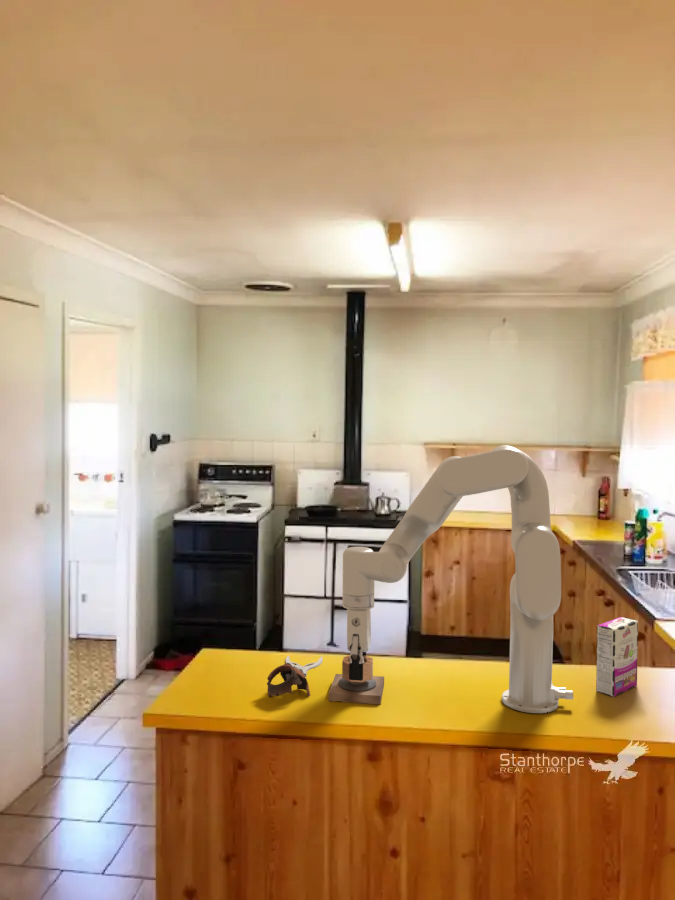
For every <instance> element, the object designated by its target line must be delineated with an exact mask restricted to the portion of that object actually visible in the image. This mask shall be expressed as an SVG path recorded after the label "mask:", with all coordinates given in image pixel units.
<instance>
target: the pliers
mask: <svg viewBox="0 0 675 900" xmlns="http://www.w3.org/2000/svg"><path fill="white" fill-rule="evenodd" d="M286 663H290V664H291V665H292V666H293V667H294V668H296V669H298V670H300V671H301V672H302V673H303V674H304V676H305V677H306V678H307V675H308V671H310V670H313V669H316V668H317V667H319V666H321V664H322V663H323V656H320V657H319V659H318V660H317V661H316V662H310V663H306V664H304V665H301V664H299V663H297V662H293V661H291V659H290V655H287V657H286V658H285V664H286ZM295 664H296V665H295ZM315 667H316V668H315ZM312 668H313V669H312Z"/></svg>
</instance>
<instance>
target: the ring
mask: <svg viewBox="0 0 675 900" xmlns="http://www.w3.org/2000/svg"><path fill="white" fill-rule="evenodd" d="M362 656H363V657H364V663H363V680H362V681H359V680H350V679H349V662H350V655H346V656H344V657H343V658H342V661H341V662H342V663H341V666H342V668H341V670H342V671H341V673H342V678H344V679H346V680H348V681H350V682H365V681H368V680H372V676H374V674H373V673H374V658H372V657H371V656H368V655H367V654H366V655H362Z"/></svg>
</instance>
